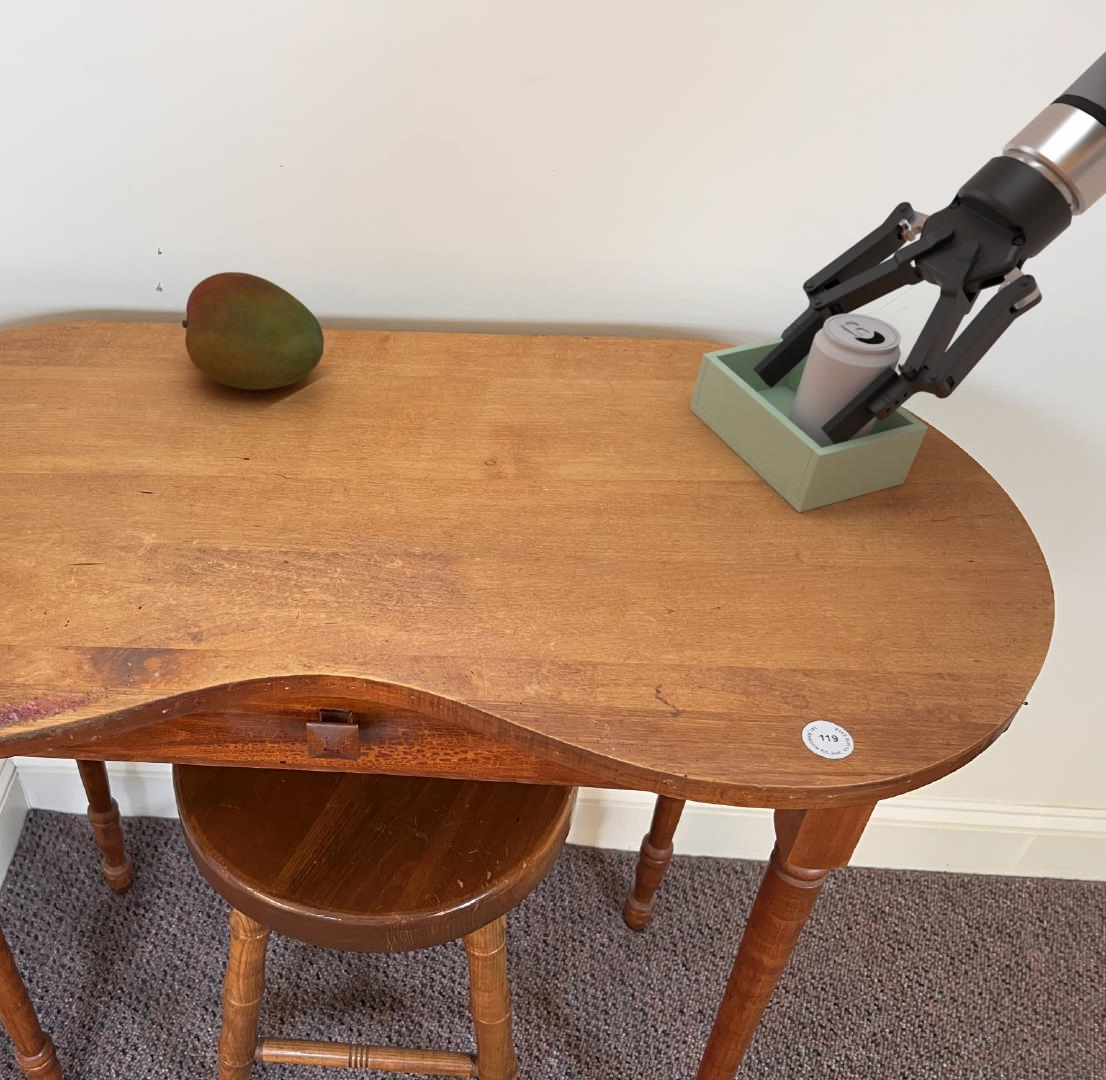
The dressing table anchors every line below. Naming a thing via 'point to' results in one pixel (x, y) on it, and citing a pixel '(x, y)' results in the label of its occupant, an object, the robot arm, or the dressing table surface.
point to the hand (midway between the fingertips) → (795, 407)
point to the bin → (797, 433)
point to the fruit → (250, 332)
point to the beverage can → (842, 370)
